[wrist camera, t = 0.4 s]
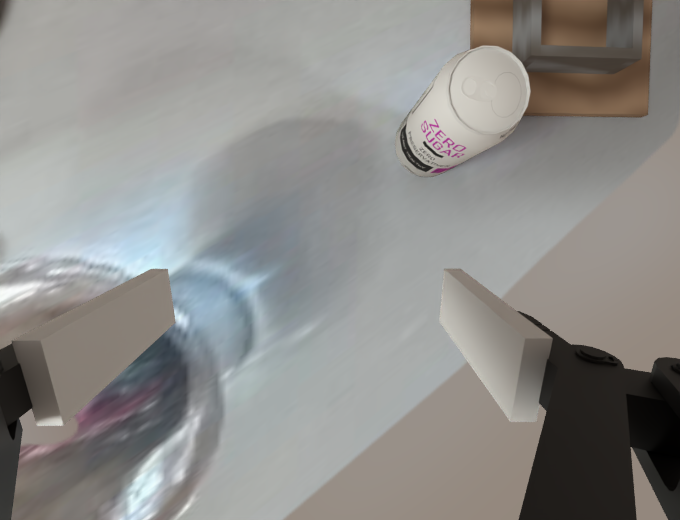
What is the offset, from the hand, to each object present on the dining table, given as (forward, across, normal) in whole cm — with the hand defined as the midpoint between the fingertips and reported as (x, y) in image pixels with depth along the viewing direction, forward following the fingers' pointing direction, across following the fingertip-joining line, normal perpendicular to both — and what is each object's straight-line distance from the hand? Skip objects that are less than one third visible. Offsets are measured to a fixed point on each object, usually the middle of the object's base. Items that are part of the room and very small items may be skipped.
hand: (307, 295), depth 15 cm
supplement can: (+29, +13, +9) cm, 33 cm away
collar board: (+34, +30, +25) cm, 52 cm away
